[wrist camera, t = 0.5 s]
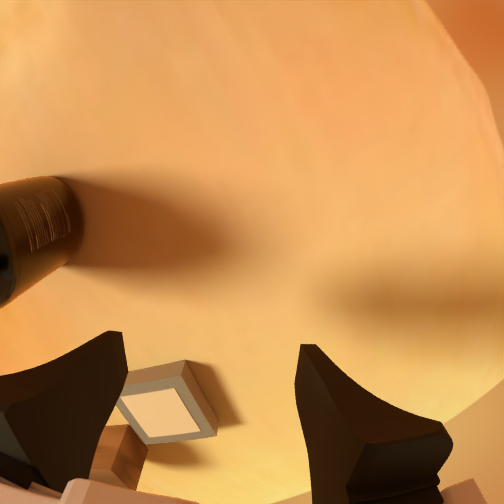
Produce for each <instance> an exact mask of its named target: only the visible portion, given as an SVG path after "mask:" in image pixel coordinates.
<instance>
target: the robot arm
mask: <svg viewBox="0 0 504 504" xmlns="http://www.w3.org/2000/svg"><path fill="white" fill-rule="evenodd" d="M127 375H128V367H127V361H126V355H125V349H124V342H123V336H122V332H117V331H107V332H104V333H102V334H101V335H99V336H97V337H95V338H93V339H92V340H90V341H88V342H87V343H85V344H83V345H81V346H80V347H78V348H76V349H74V350H72V351H70V352H69V353H67V354H65V355H63V356H61V357H59V358H57V359H55V360H52V361H50V362H48V363H45V364H43V365H40V366H37V367H35V368H31V369H28V370H24V371H21V372H17V373H13V374H8V375H2V376H0V504H199V503H197V502H193V501H188V500H184V499H180V498H175V497H168V496H162V495H156V494H150V493H145V492H140V491H135V490H130V489H126V488H121V487H117V486H113V485H109V484H105V483H102V482H98V481H94V480H89V475H90V470H91V467H92V463H93V459H94V455H95V452H96V449H97V446H98V443H99V439H100V436H101V434H102V432H103V429H104V427H105V425H106V423H107V421H108V419H109V417H110V415H111V413H112V411H113V409H114V407H115V405H116V403H117V401H118V399H119V397H120V395H121V393H122V390H123V387H124V384H125V381H126V378H127ZM294 385H295V396H296V405H297V409H298V414H299V418H300V422H301V426H302V430H303V434H304V438H305V443H306V447H307V452H308V459H309V468H310V478H311V490H312V504H487V502H486V501H485V499H484V497H483V495H482V493H481V491H480V490H479V488H478V486H477V484H476V482H475V481H474V479H468V480H466V481H463V482H460V483H458V484H455V485H452V486H450V487H447V488H445V489H444V490H443V491H441V492H439V489H438V487H437V485H439V483H440V479H439V477H438V475H437V473H438V471H439V470H440V469H441V467H442V466H443V464H444V463H445V461H446V460H447V459H448V457H449V455H450V453H451V451H452V448H453V442H452V439H451V437H450V436H449V434H448V432H447V431H446V429H445V428H444V426H443V424H442V423H441V422H439V421H435V420H432V419H428V418H424V417H421V416H417V415H415V414H412V413H409V412H407V411H404V410H402V409H399V408H397V407H395V406H393V405H391V404H389V403H387V402H385V401H383V400H381V399H380V398H378V397H376V396H375V395H373V394H372V393H370V392H368V391H367V390H365V389H364V388H363V387H361V386H360V385H358V384H357V383H356V382H355V381H354V380H352V379H351V378H350V377H349V376H347V375H346V374H345V373H344V372H343V371H342V370H341V369H340V368H339V367H338V366H337V365H335V364H334V363H333V362H332V361H331V360H330V358H329V357H328V356H327V355H326V354H325V353H324V352H323V351H322V350H321V349H320V348H319V347H318V346H317V345H316V344H301V345H300V351H299V358H298V365H297V371H296V377H295V383H294Z"/></svg>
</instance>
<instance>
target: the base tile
mask: <svg viewBox="0 0 504 504" xmlns="http://www.w3.org/2000/svg"><path fill="white" fill-rule="evenodd" d="M116 406H117V407H118V409H119V410H120V412H121V413H122V414H123V416H124V417H125V419H126V420H127V421H128V423H129V424H130V425H131V427H132V428H133V429H134V431H135V432H136V433H137V435H138V436H139V437H140V438H141V440H142V441H143V442H144V443H145V445H147V444H159V443H169V442H178V441H186V440H194V439H201V438H208V437H214V436H217V428H218V418H217V417H216V415H215V413H214V412H213V410H212V408H211V406H210V405H209V403H208V401H207V399H206V397H205V396H204V394H203V392H202V390H201V388H200V387H199V385H198V383H197V381H196V379H195V377H194V375H193V374H192V372H191V370H190V368H189V366H188V364H187V362H186V360H183V361H178V362H174V363H169V364H165V365H160V366H155V367H150V368H145V369H140V370H135V371H130V372H128V375H127V378H126V381H125V384H124V387H123V390H122V393H121V395H120V397H119V399H118V401H117V403H116Z"/></svg>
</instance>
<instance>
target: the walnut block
mask: <svg viewBox="0 0 504 504" xmlns="http://www.w3.org/2000/svg"><path fill="white" fill-rule="evenodd" d="M147 451H148V449H147V448H146V447H145V445H144V444H143V443H142V442H141V440H140V439H139V438H138V437H137V435H136V434H135V433H134V431H133V430H132V429H131V428H130V426H129V425H128V424H127V425H115V426H105V427H104V429H103V432H102V434H101V436H100V439H99V443H98V446H97V449H96V452H95V455H94V459H93V463H92V467H91V470H90V475H89V480H94V481H98V482H102V483H105V484H109V485H113V486H117V487H121V488H126V489H130V490H135V491H136V489H137V485H138V482H139V478H140V475H141V471H142V468H143V465H144V461H145V458H146V455H147Z"/></svg>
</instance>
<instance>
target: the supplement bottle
mask: <svg viewBox="0 0 504 504" xmlns="http://www.w3.org/2000/svg"><path fill="white" fill-rule="evenodd" d="M82 235H83V216H82V211H81V208H80V205H79V202H78V200H77V198H76V196H75V195H74V193H73V192H72V190H71V189H70V188H69V187H68V186H67V185H66V184H65V183H63V182H62V181H60V180H59V179H56V178H54V177H50V176H40V177H33V178H27V179H22V180H17V181H12V182H7V183H3V184H0V309H1V308H3V307H4V306H6V305H7V304H9V303H10V302H11V301H13V300H14V299H16V298H17V297H18V296H20V295H21V294H22V293H24V292H25V291H27V290H28V289H29V288H31V287H32V286H33V285H35V284H36V283H38V282H39V281H41V280H42V279H43V278H45V277H46V276H48V275H49V274H51V273H52V272H54V271H55V270H56V269H58V268H59V267H61V266H62V265H64V264H65V263H66V262H68V261H69V260H70V259H71V258H72V257H73V256H74V255H75V253H76V252H77V250H78V248H79V246H80V243H81V240H82Z"/></svg>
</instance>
